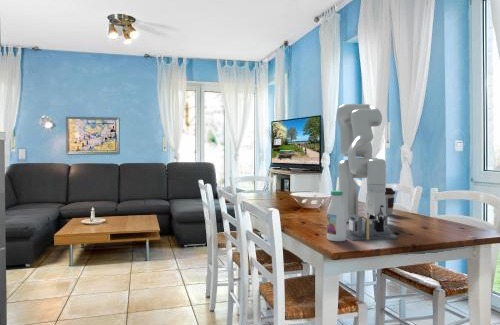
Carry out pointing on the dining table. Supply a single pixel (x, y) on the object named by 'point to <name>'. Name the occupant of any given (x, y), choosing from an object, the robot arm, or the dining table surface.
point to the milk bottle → (336, 218)
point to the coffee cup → (390, 199)
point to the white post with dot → (354, 224)
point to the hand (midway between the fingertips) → (375, 229)
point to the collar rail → (367, 231)
